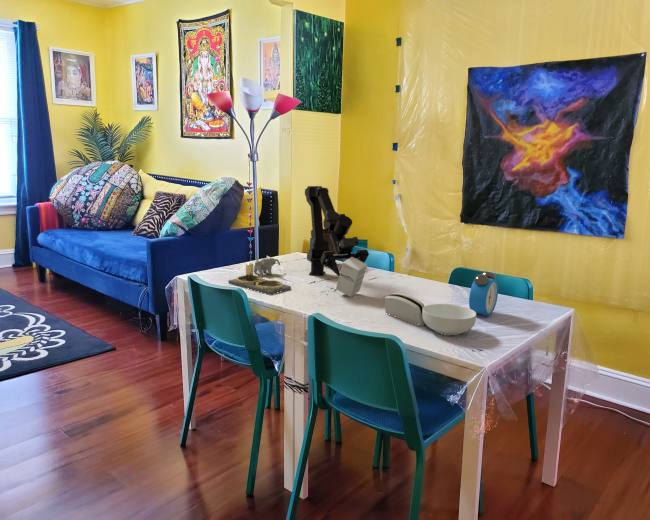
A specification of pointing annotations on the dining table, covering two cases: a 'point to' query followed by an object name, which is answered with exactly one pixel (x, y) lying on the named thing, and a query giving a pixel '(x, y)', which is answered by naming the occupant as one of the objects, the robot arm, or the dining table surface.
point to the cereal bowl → (448, 318)
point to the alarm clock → (483, 294)
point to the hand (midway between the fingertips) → (350, 274)
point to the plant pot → (327, 238)
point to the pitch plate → (258, 282)
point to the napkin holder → (404, 307)
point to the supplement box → (351, 276)
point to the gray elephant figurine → (265, 265)
